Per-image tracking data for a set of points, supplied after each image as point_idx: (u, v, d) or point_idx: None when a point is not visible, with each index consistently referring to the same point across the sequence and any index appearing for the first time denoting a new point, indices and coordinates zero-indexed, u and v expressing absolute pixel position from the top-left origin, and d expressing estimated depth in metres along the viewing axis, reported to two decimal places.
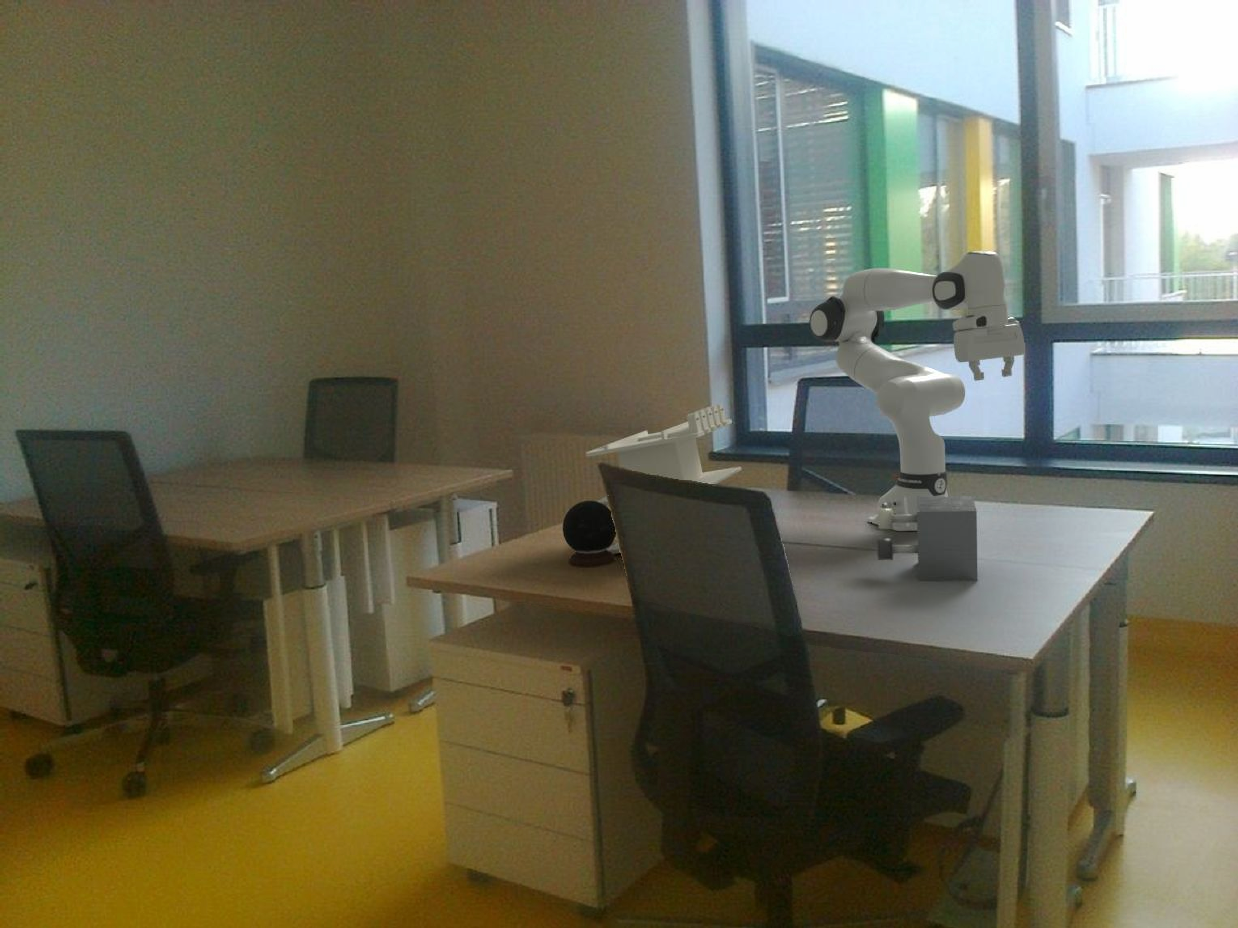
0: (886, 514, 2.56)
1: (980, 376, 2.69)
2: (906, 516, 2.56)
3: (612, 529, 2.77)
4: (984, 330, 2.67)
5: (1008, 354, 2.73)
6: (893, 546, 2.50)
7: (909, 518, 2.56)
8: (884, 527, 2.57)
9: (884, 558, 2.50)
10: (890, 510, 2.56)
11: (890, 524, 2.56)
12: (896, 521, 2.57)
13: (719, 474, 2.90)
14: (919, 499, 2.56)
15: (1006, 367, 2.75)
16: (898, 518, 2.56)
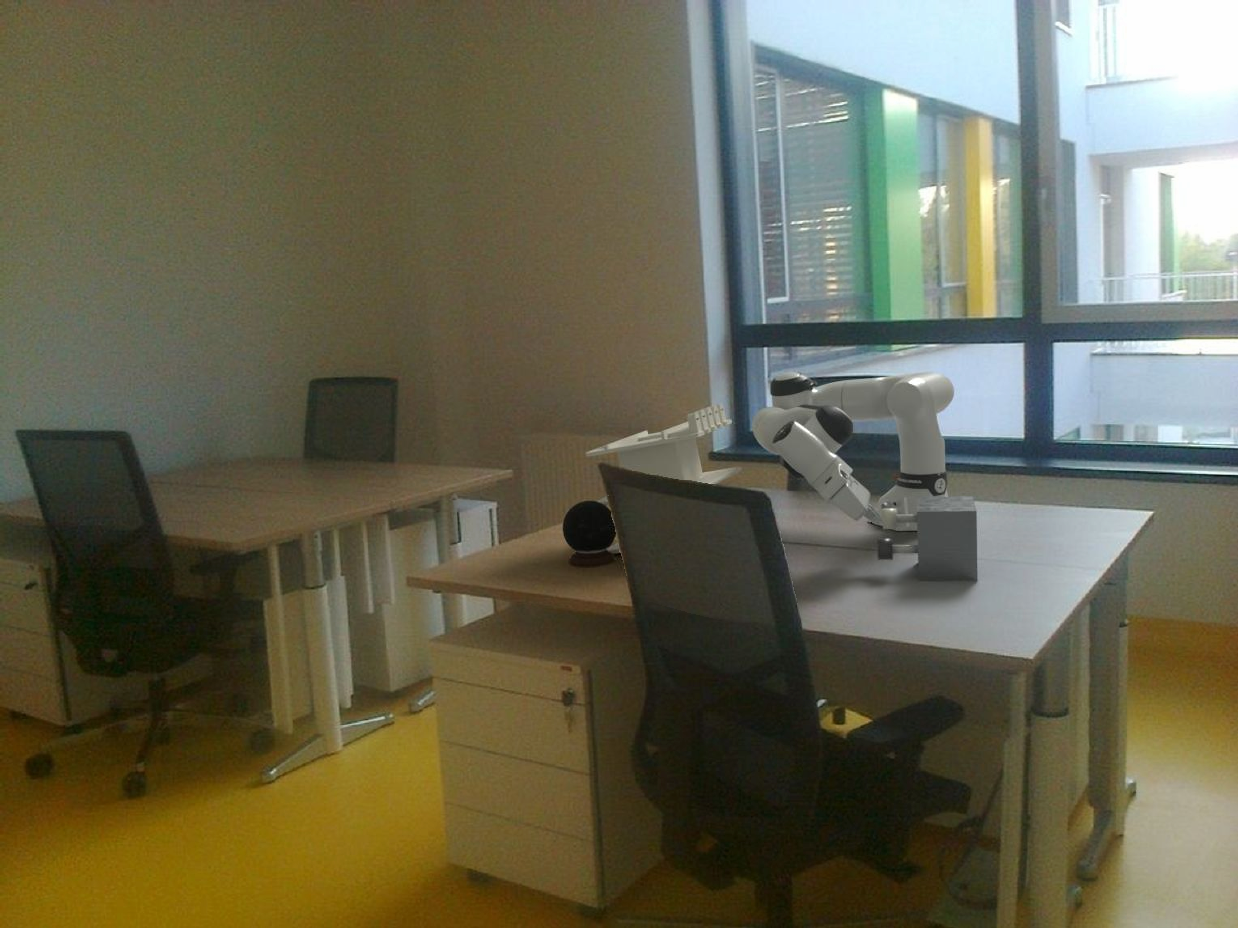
0: (890, 514, 2.55)
1: (879, 517, 2.57)
2: (911, 516, 2.56)
3: (612, 529, 2.77)
4: (849, 481, 2.54)
5: (868, 496, 2.61)
6: (893, 546, 2.50)
7: (914, 518, 2.55)
8: (888, 527, 2.56)
9: (884, 558, 2.50)
10: (894, 510, 2.56)
11: (894, 524, 2.55)
12: (900, 521, 2.56)
13: (719, 474, 2.90)
14: (919, 499, 2.56)
15: None
16: (902, 518, 2.56)
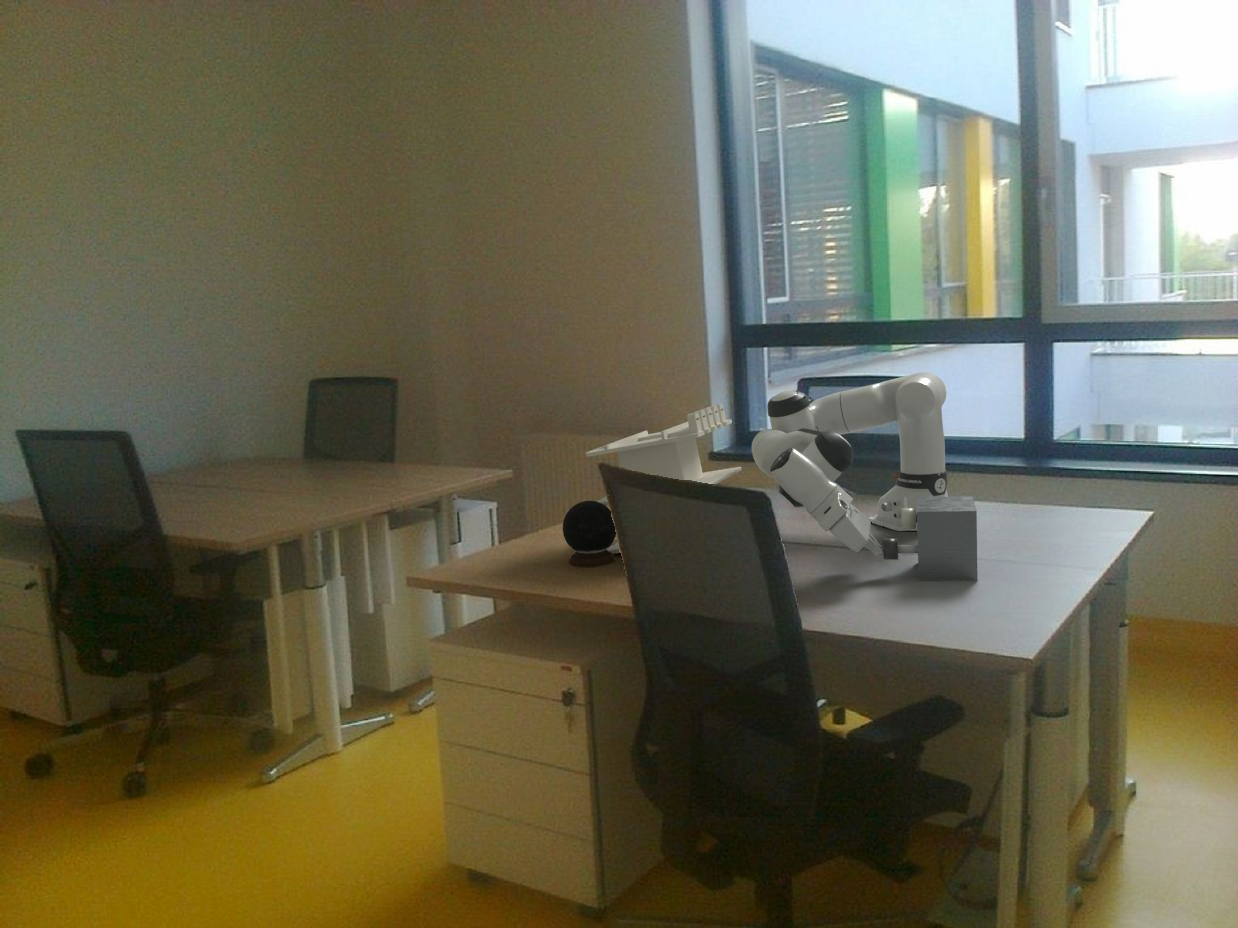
0: (910, 514, 2.54)
1: (880, 547, 2.50)
2: None
3: (612, 529, 2.77)
4: (849, 511, 2.47)
5: (869, 526, 2.54)
6: (898, 546, 2.50)
7: None
8: (907, 527, 2.55)
9: (889, 558, 2.49)
10: (914, 510, 2.55)
11: (914, 524, 2.54)
12: None
13: (719, 474, 2.90)
14: (919, 499, 2.56)
15: None
16: None
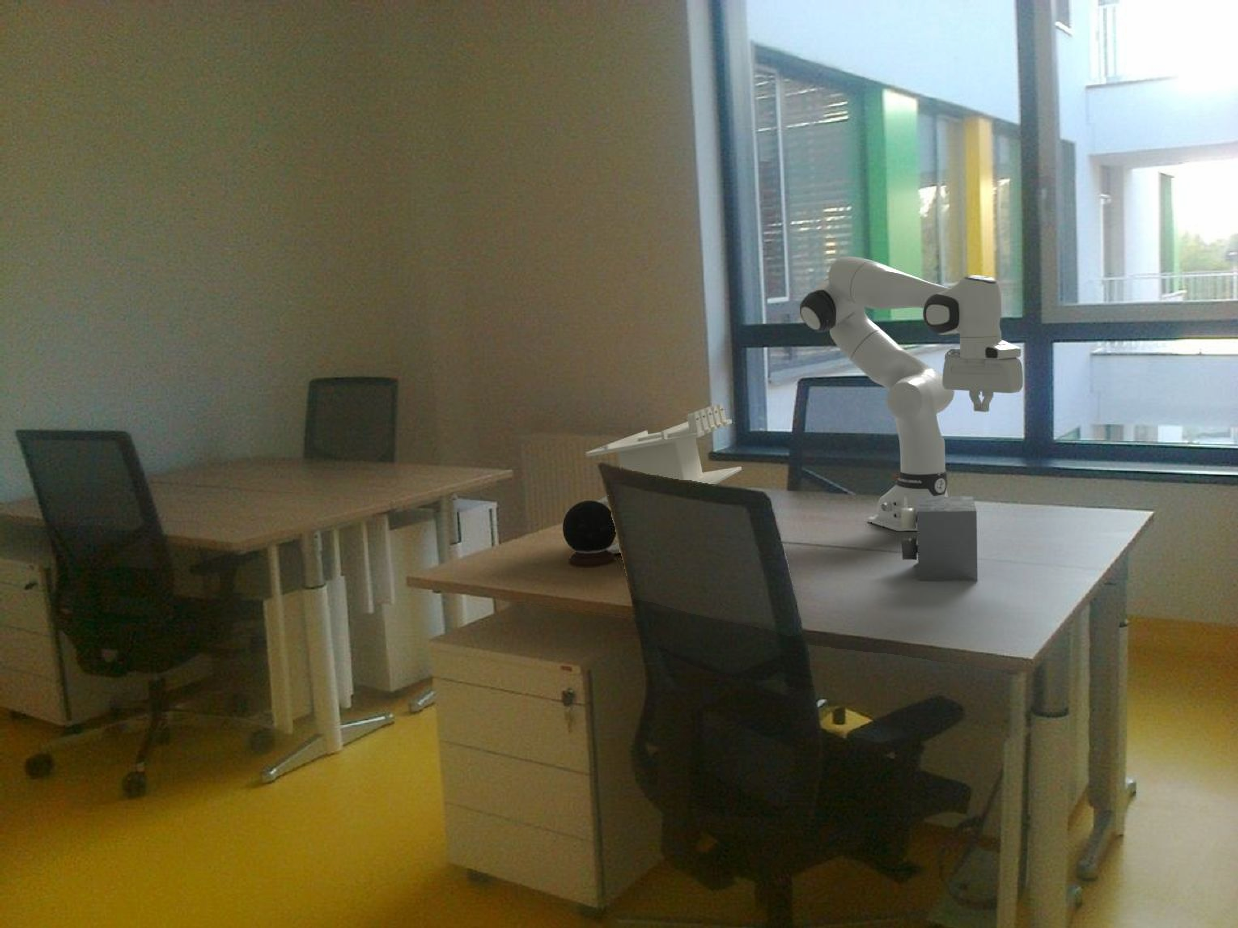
0: (910, 514, 2.54)
1: None
2: None
3: (612, 529, 2.77)
4: None
5: None
6: (917, 546, 2.49)
7: None
8: (907, 527, 2.55)
9: (908, 558, 2.49)
10: (914, 510, 2.55)
11: (914, 524, 2.54)
12: None
13: (719, 474, 2.90)
14: (919, 499, 2.56)
15: (977, 401, 2.59)
16: None
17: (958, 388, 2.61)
